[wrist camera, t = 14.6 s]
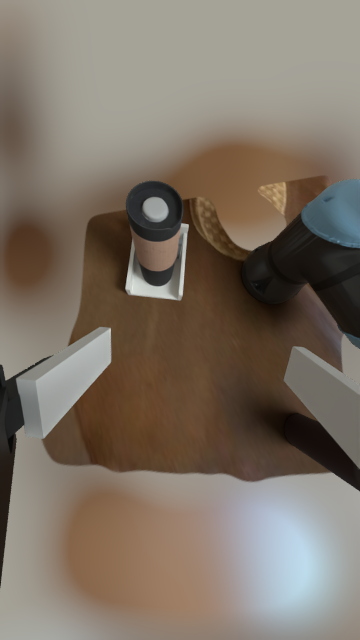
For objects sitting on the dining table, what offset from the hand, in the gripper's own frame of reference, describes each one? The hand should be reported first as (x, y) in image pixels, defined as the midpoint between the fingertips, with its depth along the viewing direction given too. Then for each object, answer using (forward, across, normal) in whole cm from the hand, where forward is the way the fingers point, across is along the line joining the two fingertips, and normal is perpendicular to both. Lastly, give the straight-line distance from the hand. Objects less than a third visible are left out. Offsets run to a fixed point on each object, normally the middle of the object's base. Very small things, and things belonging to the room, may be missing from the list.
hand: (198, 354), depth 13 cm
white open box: (+33, -9, +6) cm, 35 cm away
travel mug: (+32, -9, +5) cm, 34 cm away
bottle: (+22, +26, -26) cm, 43 cm away
